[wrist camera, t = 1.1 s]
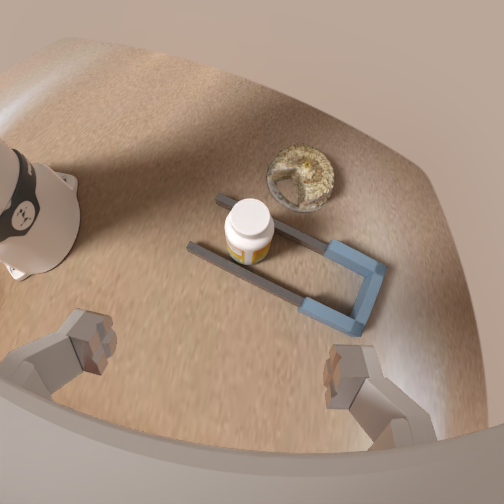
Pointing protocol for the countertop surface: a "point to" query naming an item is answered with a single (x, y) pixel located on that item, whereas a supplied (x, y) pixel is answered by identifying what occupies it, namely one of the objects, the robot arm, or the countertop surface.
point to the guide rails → (250, 276)
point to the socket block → (365, 298)
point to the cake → (302, 177)
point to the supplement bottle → (249, 231)
